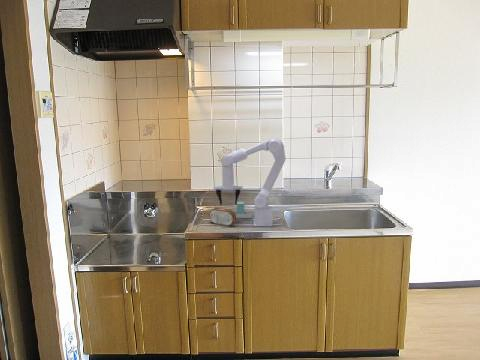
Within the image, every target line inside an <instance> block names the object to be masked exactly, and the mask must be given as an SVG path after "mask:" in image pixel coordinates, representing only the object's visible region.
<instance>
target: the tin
mask: <svg viewBox="0 0 480 360" xmlns="http://www.w3.org/2000/svg"><path fill="white" fill-rule="evenodd" d="M208 215H209V219H210V221H211V222H212V223H213V224H215V225H220V226H226V227H230V226H234V225H235V223H236V221H237V220H236V213H235V211H233V209H230V208H229V209H228V208H223V207H216V206H215V207H214V208H213V209H211V210H210V211H209V213H208Z"/></svg>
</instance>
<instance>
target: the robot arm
mask: <svg viewBox="0 0 480 360" xmlns="http://www.w3.org/2000/svg"><path fill="white" fill-rule="evenodd" d="M261 151H266V152H268V151H269V152H270V153H271V155H272V156H273V159H274V162H273V164H272V166H271V169H270V170H269V174H268V176H267V177H266V179H265V181H264V183H263V185H262V188H261V190H260V191H259V193H258V194H257V195H256V197H254V200H253V205H254V206H253V208H254V210H253V211H254V212H253V213H254V214H253V215H254V216H253V217H254V218H253V219H254V221H253V227H273V226H274V225H273V222H274V217H273V214H274V213H273V212H274V211H273V210H274V209H273V207H270V206H269V205H268V202H269V198H270V197H269V196H270V194H271V191H272V190H273V188H274V185H275V183H276V181H277V178H278V176H279V175H280V172H281V170H282V168H283V166H284V164H285V162H286V159H287V158H286V152H285V145H284V144H283V142H282V140H281V139H279V138H273V139H269V140H265V141H262V142H259V143H257V144H255V145H252V146H250V147H249V148H246V149H245V148H244V147H243V148H241V147H239V148H238V147H237V148H236V150H234V151H232V152H231V151H230V152H228V154H224V155H223V156H222V157H221V158H220V164H221V165H222V167H221V175H222V176H221V177H222V181H221V182H222V185H219V186H213V191H214V192H215V194H216V196H217V198H218V200H219V205H220V206H222V205H223V200H222V191H224V192H225V191H234V192H235V193H234V194H235V195H234V196H235V201H234V202H235V205H236V206H237V202H238V200H239V196H240V194H241V192H243V186H242V185H235V184H234V181H235V180H234V177H235V176H234V173H235V172H234V164H237V163H239V162H242V161H245V160H246V159H248V156H249V155H253V154H255V153H258V152H261Z"/></svg>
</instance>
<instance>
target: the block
mask: <svg viewBox="0 0 480 360" xmlns="http://www.w3.org/2000/svg"><path fill="white" fill-rule="evenodd" d="M236 214H245V201H237V205H236Z"/></svg>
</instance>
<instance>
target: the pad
mask: <svg viewBox="0 0 480 360" xmlns="http://www.w3.org/2000/svg"><path fill="white" fill-rule="evenodd" d="M235 215H236V221H237V220H240V221H241V220H243V221H244V220H253V213H244V214H237V213H235Z"/></svg>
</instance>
